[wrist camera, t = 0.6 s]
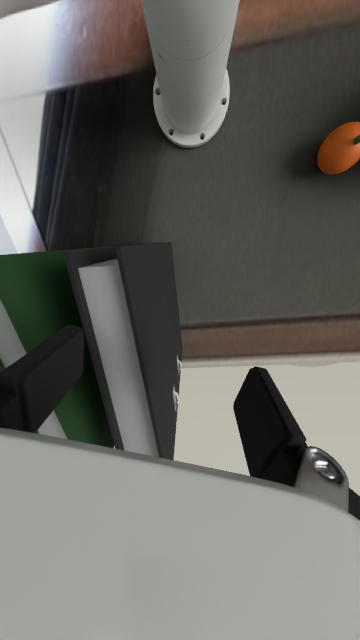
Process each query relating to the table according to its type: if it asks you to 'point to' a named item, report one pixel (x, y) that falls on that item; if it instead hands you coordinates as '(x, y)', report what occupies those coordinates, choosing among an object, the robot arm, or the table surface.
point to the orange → (340, 149)
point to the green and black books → (102, 339)
